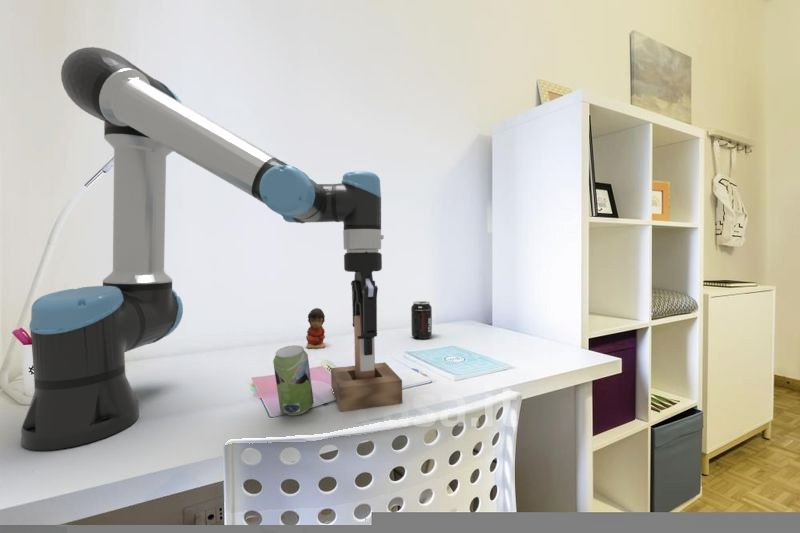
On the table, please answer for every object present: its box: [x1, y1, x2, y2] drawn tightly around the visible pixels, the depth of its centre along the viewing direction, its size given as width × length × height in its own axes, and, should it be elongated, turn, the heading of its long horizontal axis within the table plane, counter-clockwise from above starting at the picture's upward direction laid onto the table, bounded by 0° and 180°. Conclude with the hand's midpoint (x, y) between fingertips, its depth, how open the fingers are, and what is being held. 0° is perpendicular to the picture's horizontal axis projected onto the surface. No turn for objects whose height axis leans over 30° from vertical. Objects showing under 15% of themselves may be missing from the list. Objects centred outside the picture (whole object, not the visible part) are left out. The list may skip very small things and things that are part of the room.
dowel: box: [353, 315, 376, 380], centre depth 76 cm, size 4×4×14 cm
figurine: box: [305, 307, 326, 349], centre depth 115 cm, size 6×6×12 cm
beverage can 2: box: [410, 300, 433, 340], centre depth 126 cm, size 7×7×12 cm
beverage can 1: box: [272, 345, 314, 416], centre depth 69 cm, size 6×7×12 cm
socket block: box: [330, 362, 403, 412], centre depth 76 cm, size 12×12×4 cm
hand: (364, 366), depth 76 cm, fingers closed on dowel, 4 cm apart
